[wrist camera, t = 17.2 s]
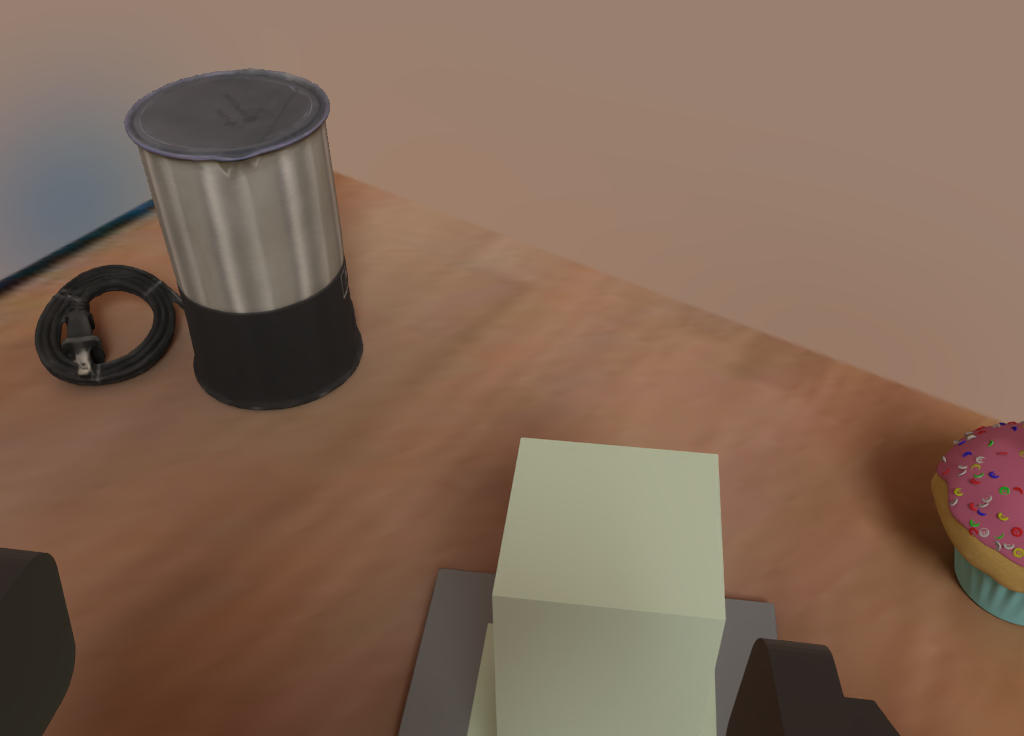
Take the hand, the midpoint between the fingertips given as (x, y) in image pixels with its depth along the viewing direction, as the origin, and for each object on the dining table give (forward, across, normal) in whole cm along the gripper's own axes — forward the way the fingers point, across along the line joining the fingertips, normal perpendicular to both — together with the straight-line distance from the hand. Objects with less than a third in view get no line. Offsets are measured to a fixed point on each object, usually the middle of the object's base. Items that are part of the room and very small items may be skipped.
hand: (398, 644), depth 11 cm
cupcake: (+24, -23, +19) cm, 38 cm away
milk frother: (+36, +17, +21) cm, 45 cm away
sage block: (+15, -5, +21) cm, 26 cm away
